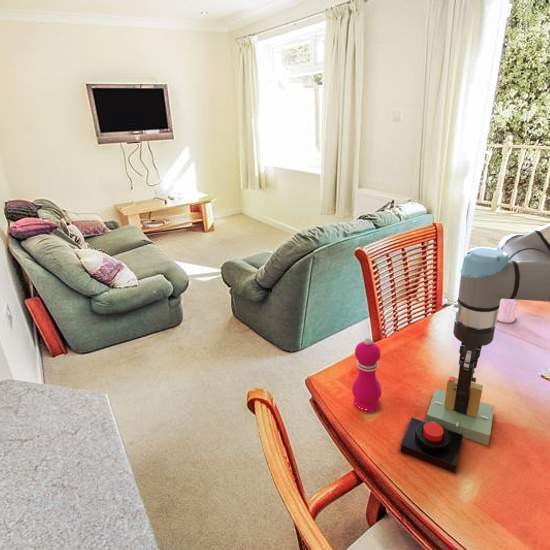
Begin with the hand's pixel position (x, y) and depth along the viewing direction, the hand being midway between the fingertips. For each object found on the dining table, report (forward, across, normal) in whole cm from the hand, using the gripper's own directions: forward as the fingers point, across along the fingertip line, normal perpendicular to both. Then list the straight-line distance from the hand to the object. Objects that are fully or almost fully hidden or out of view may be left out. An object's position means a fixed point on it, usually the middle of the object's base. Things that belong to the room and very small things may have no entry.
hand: (461, 407), depth 87 cm
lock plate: (+4, 0, 0) cm, 4 cm away
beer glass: (+4, -54, +6) cm, 54 cm away
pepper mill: (+4, +5, -21) cm, 22 cm away
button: (0, +11, -4) cm, 12 cm away
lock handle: (+1, 0, 0) cm, 1 cm away
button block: (+4, +11, -4) cm, 12 cm away
